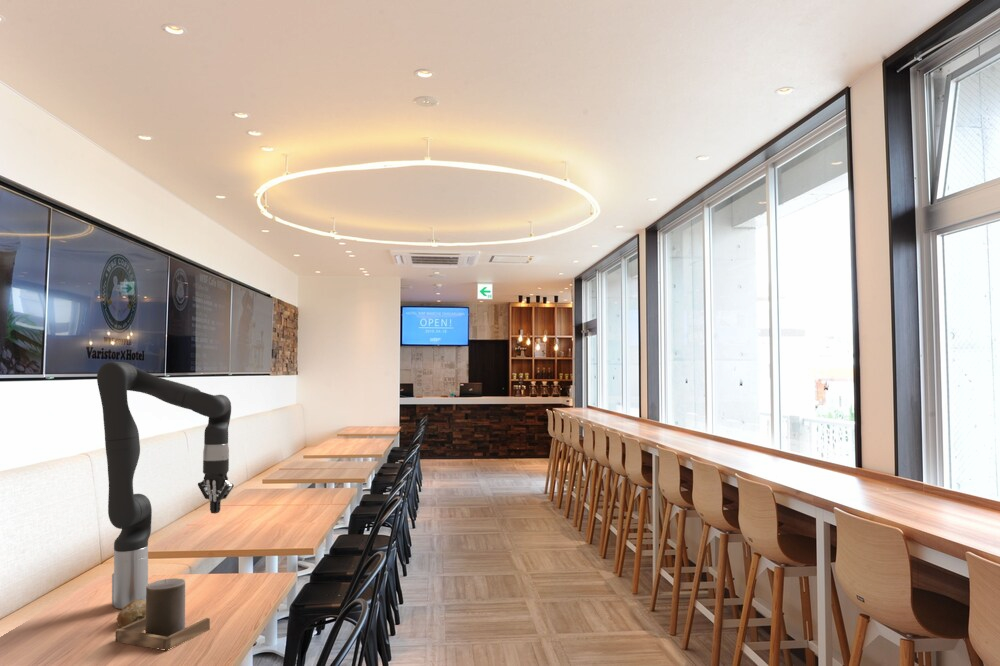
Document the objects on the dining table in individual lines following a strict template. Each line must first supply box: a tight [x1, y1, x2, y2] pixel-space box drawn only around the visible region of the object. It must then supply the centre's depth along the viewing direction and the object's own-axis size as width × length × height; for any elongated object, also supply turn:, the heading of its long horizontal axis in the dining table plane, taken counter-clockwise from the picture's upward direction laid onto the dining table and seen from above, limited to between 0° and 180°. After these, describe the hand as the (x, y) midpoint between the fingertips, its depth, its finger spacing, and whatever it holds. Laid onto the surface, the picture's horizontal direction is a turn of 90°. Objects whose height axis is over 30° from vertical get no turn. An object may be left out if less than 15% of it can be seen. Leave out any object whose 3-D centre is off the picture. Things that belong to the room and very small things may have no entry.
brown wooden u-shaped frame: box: [115, 617, 211, 651], centre depth 177 cm, size 18×14×3 cm
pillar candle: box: [144, 577, 186, 637], centre depth 179 cm, size 10×10×15 cm
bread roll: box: [116, 600, 146, 628], centre depth 187 cm, size 10×10×8 cm
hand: (215, 512), depth 206 cm, fingers closed
